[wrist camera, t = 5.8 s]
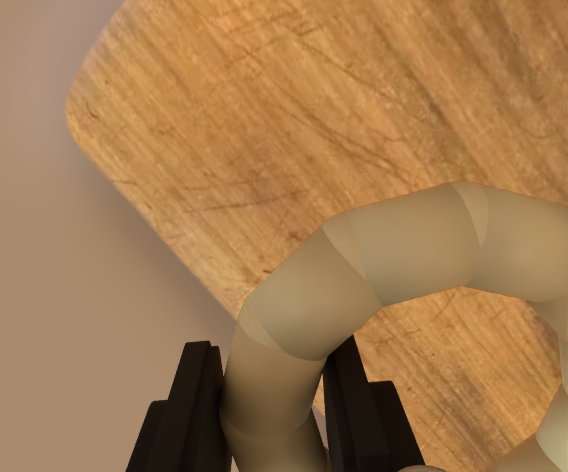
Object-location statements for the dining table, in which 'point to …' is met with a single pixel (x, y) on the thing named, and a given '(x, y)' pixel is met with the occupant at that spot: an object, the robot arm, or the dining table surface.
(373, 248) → the bracelet
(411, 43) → the dining table surface
